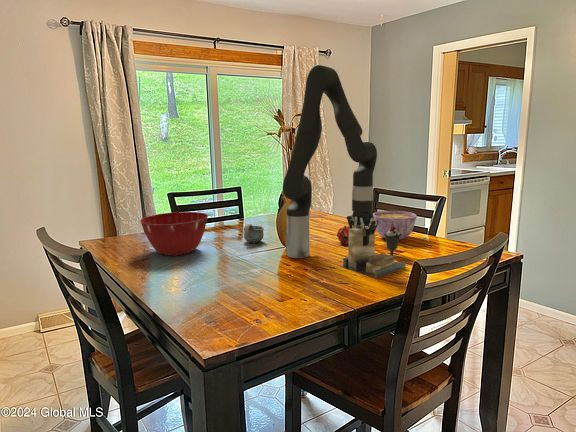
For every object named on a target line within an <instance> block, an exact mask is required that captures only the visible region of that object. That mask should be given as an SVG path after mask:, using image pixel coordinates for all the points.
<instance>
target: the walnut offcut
mask: <svg viewBox="0 0 576 432" xmlns="http://www.w3.org/2000/svg"><path fill="white" fill-rule="evenodd" d="M375 255H376V254H375ZM394 260H395V255H394V256H392V255H390V254H386V253H379V254H378V255H376V256H374V257H372V258H370V264H372V265H377V266H381V267H383V266H385V265H387V264H389V263H391V262H393V261H394Z"/></svg>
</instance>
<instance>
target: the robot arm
mask: <svg viewBox="0 0 576 432" xmlns="http://www.w3.org/2000/svg"><path fill="white" fill-rule="evenodd" d="M323 94H325V96H327V99H328V100H329V102H330V103H331V105H332V107H333V114H334V120H335V123H336V125H337V127H338V129H339V131H340V133H341V135H342V137H343V138H344V142H345V147H346V150H347V154H348V156H349V157H350V159H351V160H352V161H353V162H354V163H358V167H357V169H355V170H354V171H353V173H352V191H351V210H352V215H347V216H346V220H347V224H348V227H350V229H352V228H357V227H362V230H363V235H364V236H363V246H367V245H368V244H369V236H370V235H372V234H374V232H375V233H376V231H377V230H376V228H377V225H378V223H379V221H378V220H375V219H374V217H373V211H374V186H373V185H374V176H373V175H374V171H375V167H376V164H377V158H378V151H377V146H376V145H375V144H374V143H373V142H370V141H364V142H363V140H362V136H363V128H362V126H361V125H360V123H359V121H358V119H357V117H356V115H355V114H354V112H353V110H352V108H351V106H350V103H349V101H348V99H347V96H346V93H345V91H344V88H343V86H342V82H341V80H340V76H339V74H338V72H337V71H336V70H335V69H334V68H333V67H329V66H325V65H321V64H315V65H314V66H312V67H311V68H310V70H308V73H307V77H306V80H305V88H304V97H303V102H302V103H303V104H302V108H301V112H300V116H299V117H300V118H299V121H298V125H297V128H296V129H297V130H296V135H295V139H294V144H293V149H292V151H291V156H290V161H289V165H288V167H287V171H286V173H285V176H284V179H283V183H282V193H283V195H284V197H285V198H287V199H289V200H291V201H290V204H289V205H287V208H286V232H285V255H287V257H288V258H291V259H292V258H293V259H305V258H309V257H310V250H311V249H310V210H311V206H312V190H313V188H312V183H311V180H310V178H309V177H307V175H305V174H306V173H305V172H306V170H307V167H308V165H309V162H310V161H311V159H312V158H313V156H314V155H315V153H316V151H317V149H318V147H319V144H320V141H321V136H322V132H323V124H322V118H321V103H322V98H323ZM365 226H367V227H365ZM366 229H367V232H366Z"/></svg>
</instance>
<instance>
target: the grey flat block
mask: <svg viewBox="0 0 576 432" xmlns="http://www.w3.org/2000/svg"><path fill="white" fill-rule="evenodd" d="M397 263H399V261H398V260H396V259H394V261H393V262H391V263H389V264H387V265H385V266H383V267H381V266H377V265H372V264H370V262H368V263H366V271H367V272H370V273H373V274H375V271H376V270H379V269H382V268H385V267H388V266H391V265H394V264H397Z"/></svg>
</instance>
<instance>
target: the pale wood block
mask: <svg viewBox="0 0 576 432" xmlns="http://www.w3.org/2000/svg"><path fill="white" fill-rule="evenodd" d="M365 227H367V226H365ZM366 232H367V229H366ZM363 236H364V235H363V230H362V227H357V228H352V229H349V243H348V256H347V257H348V266H349V267H352V268H354V261H356V260H360V259H363V258H366V257H370V256H373V255H375V252H376V251H375V249H376V247H375V243H376V241H375V240H376V231H375V232H374V234H372V235H370V236H369V244H368V245H367V246H363Z"/></svg>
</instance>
